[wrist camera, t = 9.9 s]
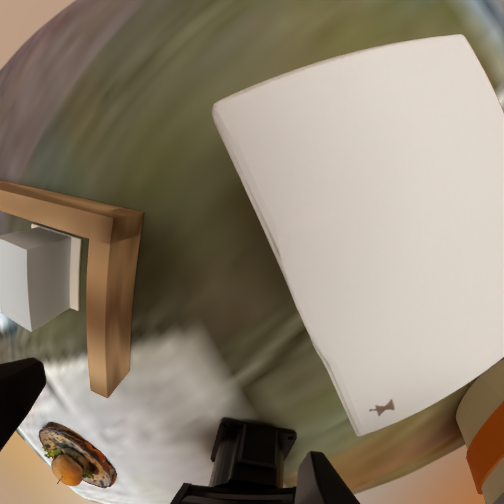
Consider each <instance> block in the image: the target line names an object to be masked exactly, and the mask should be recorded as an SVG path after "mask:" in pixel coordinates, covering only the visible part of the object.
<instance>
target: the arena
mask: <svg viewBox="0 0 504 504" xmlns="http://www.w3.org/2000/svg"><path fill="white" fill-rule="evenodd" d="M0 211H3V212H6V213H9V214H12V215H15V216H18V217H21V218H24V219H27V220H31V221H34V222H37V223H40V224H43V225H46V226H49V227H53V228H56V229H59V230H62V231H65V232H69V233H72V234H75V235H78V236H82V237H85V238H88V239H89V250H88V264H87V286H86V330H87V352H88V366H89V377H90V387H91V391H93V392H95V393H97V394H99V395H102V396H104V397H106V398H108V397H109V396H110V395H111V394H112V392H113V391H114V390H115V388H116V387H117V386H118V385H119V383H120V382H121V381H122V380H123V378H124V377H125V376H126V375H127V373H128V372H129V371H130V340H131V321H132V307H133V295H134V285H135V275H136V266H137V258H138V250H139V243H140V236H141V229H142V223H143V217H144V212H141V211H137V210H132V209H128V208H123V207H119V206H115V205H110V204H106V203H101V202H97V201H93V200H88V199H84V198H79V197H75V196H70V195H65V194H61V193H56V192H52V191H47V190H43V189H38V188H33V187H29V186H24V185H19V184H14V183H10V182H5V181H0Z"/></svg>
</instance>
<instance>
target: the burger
mask: <svg viewBox="0 0 504 504" xmlns="http://www.w3.org/2000/svg"><path fill="white" fill-rule="evenodd" d="M79 436H80V435H79V434H77V433H76V432H74V431H72V430H71V429H69V428H67V427H65V426H63V425H60V424H58V423H54V422H49V424H47V426H46V427H45V428H44V427H43V429H41V430H40V431H39V438H40V441H41V443H42V445H43V447H42V448H44V450H45V451H46V452H48V454H45V456H46V457H48V458H50V457H52V458H53V461H52V464H51V466H52V471H53V473H54V474H55V476H56V477H57V478H58V479H59V481H61V482H63V483H64V484H66V485H69V486H76V485H78V484H80V482H81V481H82V480H83V481H85V482H87V483H89V484H92V485H95V486H98V487H102V488H107V487H111V486H112V485H113V484H114V482H115V480H116V476H117V473H116V472H115V469H112V467H111V465H109V464H108V463H107V462H106V457H105V456H104V455H103V454H102V453H101V451H99V450H97V449H93V447H92V444H91V443H89V442H88V441H86V440H84V439H83V437H81V436H80V437H79ZM47 455H49V456H47ZM58 483H59V482H58ZM58 483H57V484H58Z"/></svg>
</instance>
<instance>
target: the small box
mask: <svg viewBox="0 0 504 504" xmlns="http://www.w3.org/2000/svg"><path fill="white" fill-rule="evenodd" d="M211 114H212V117H213V119H214V122H215V125H216V127H217V129H218V132H219V134H220V136H221V138H222V141H223V143H224V145H225V147H226V149H227V151H228V153H229V156H230V158H231V160H232V162H233V164H234V166H235V168H236V171H237V173H238V175H239V177H240V179H241V181H242V184H243V186H244V188H245V190H246V192H247V195H248V197H249V199H250V201H251V203H252V206H253V208H254V210H255V212H256V214H257V217H258V219H259V221H260V223H261V226H262V228H263V230H264V232H265V235H266V237H267V239H268V241H269V244H270V246H271V248H272V251H273V253H274V255H275V257H276V260H277V262H278V264H279V267H280V269H281V271H282V273H283V276H284V278H285V280H286V283H287V285H288V288H289V290H290V292H291V295H292V297H293V300H294V302H295V305H296V307H297V309H298V312H299V314H300V317H301V319H302V321H303V323H304V325H305V327H306V329H307V331H308V333H309V336H310V338H311V341H312V344H313V346H314V348H315V350H316V351H317V353H318V355H319V356H320V358H321V360H322V362H323V364H324V365H325V367H326V369H327V371H328V373H329V375H330V378H331V380H332V382H333V384H334V387H335V389H336V391H337V393H338V396H339V398H340V400H341V403H342V405H343V407H344V409H345V412H346V414H347V416H348V418H349V420H350V422H351V425H352V427H353V429H354V431H355V433H356V435H357V436H363V435H366V434H368V433H371V432H374V431H376V430H379V429H381V428H384V427H386V426H389V425H391V424H393V423H396V422H398V421H400V420H403V419H405V418H407V417H409V416H411V415H413V414H415V413H417V412H419V411H421V410H423V409H425V408H427V407H429V406H431V405H432V404H434V403H436V402H438V401H440V400H441V399H443V398H445V397H446V396H448V395H450V394H451V393H453V392H455V391H456V390H458V389H459V388H461V387H463V386H464V385H466V384H467V383H469V382H470V381H472V380H473V379H475V378H476V377H478V376H479V375H480V374H482V373H483V372H485V371H486V370H487V369H489V368H490V367H491V366H492V365H494V364H495V363H497V362H498V361H499V360H500V359H502V358H503V357H504V112H503V109H502V107H501V105H500V102H499V100H498V98H497V96H496V93H495V91H494V89H493V87H492V85H491V83H490V81H489V79H488V77H487V75H486V73H485V71H484V69H483V68H482V66H481V64H480V62H479V60H478V58H477V57H476V55H475V53H474V51H473V50H472V48H471V46H470V45H469V43H468V41H467V39H466V38H465V36H463V35H461V34H460V35H449V36H440V37H431V38H424V39H417V40H410V41H404V42H398V43H393V44H387V45H382V46H378V47H373V48H369V49H364V50H360V51H356V52H352V53H348V54H345V55H341V56H337V57H334V58H330V59H327V60H324V61H320V62H317V63H314V64H311V65H308V66H305V67H302V68H299V69H296V70H293V71H290V72H287V73H285V74H282V75H279V76H276V77H274V78H271V79H269V80H266V81H264V82H261V83H259V84H256V85H254V86H251V87H249V88H246V89H244V90H242V91H239V92H237V93H235V94H233V95H230V96H228V97H226V98H224V99H221V100H219V101H217V102H216V103H214V105H213V107H212V113H211Z"/></svg>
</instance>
